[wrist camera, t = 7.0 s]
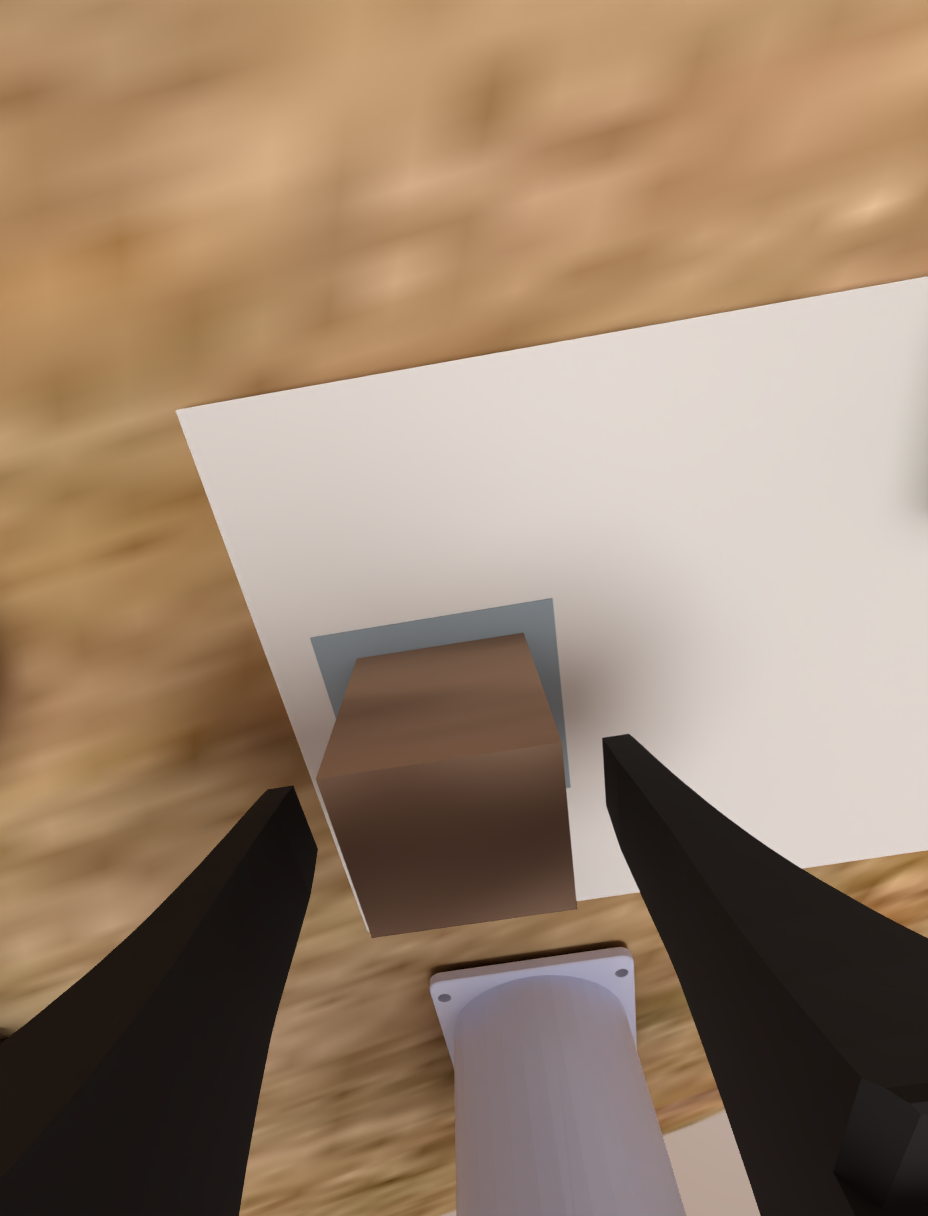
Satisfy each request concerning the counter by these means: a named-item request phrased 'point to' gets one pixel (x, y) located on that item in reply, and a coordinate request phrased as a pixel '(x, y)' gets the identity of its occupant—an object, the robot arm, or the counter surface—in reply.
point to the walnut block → (449, 788)
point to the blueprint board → (626, 554)
